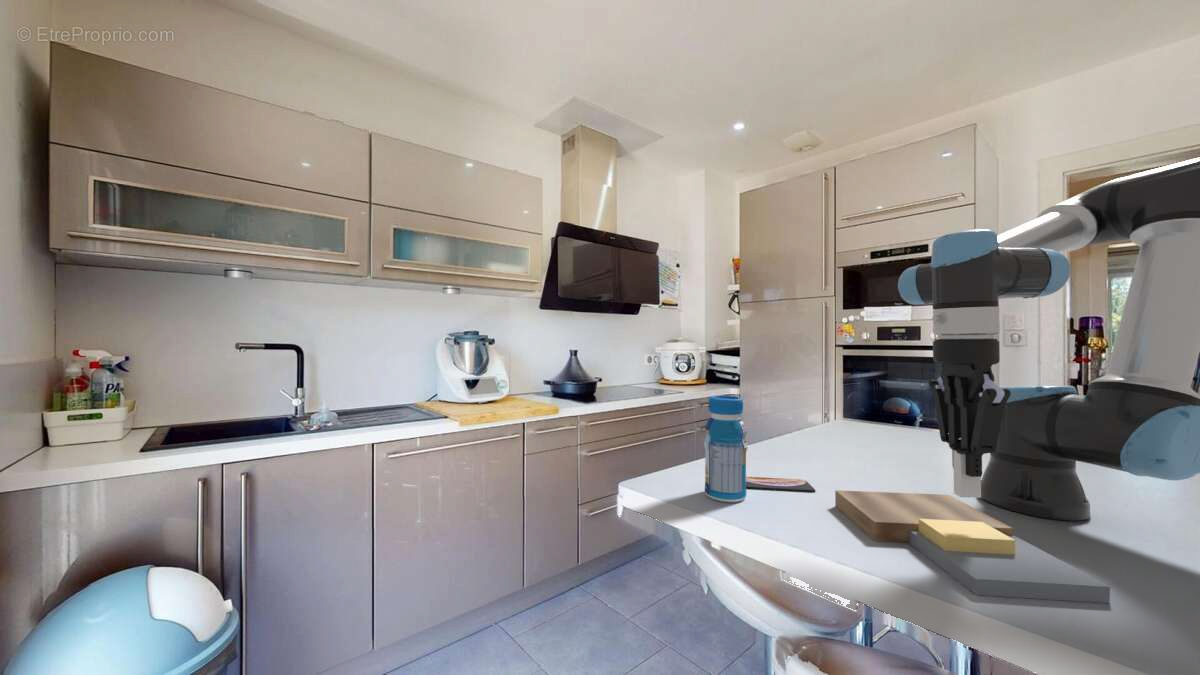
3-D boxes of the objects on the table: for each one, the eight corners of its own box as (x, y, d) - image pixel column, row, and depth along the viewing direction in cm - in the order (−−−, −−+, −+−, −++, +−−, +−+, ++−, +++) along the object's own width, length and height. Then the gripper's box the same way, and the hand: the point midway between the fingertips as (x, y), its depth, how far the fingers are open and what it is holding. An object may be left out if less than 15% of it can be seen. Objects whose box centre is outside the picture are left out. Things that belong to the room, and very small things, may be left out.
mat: (1014, 548, 65) (1014, 535, 65) (1109, 603, 52) (1109, 586, 52) (909, 543, 67) (909, 530, 67) (975, 594, 53) (975, 578, 53)
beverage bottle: (721, 506, 81) (722, 401, 81) (695, 491, 89) (695, 395, 89) (756, 500, 84) (756, 399, 84) (728, 486, 92) (728, 393, 92)
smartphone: (736, 475, 98) (805, 479, 96) (736, 479, 98) (805, 483, 96) (742, 486, 91) (817, 490, 88) (742, 490, 91) (817, 494, 88)
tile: (982, 534, 65) (982, 521, 65) (1015, 554, 59) (1015, 540, 59) (918, 531, 66) (918, 518, 66) (945, 550, 60) (945, 536, 60)
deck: (948, 510, 79) (948, 494, 79) (1013, 547, 65) (1013, 528, 65) (835, 506, 81) (835, 490, 81) (874, 540, 67) (874, 521, 67)
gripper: (910, 337, 70) (913, 480, 70) (970, 338, 57) (973, 513, 57) (959, 336, 69) (962, 481, 70) (1032, 337, 56) (1034, 514, 57)
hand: (967, 495), depth 63 cm, fingers closed
